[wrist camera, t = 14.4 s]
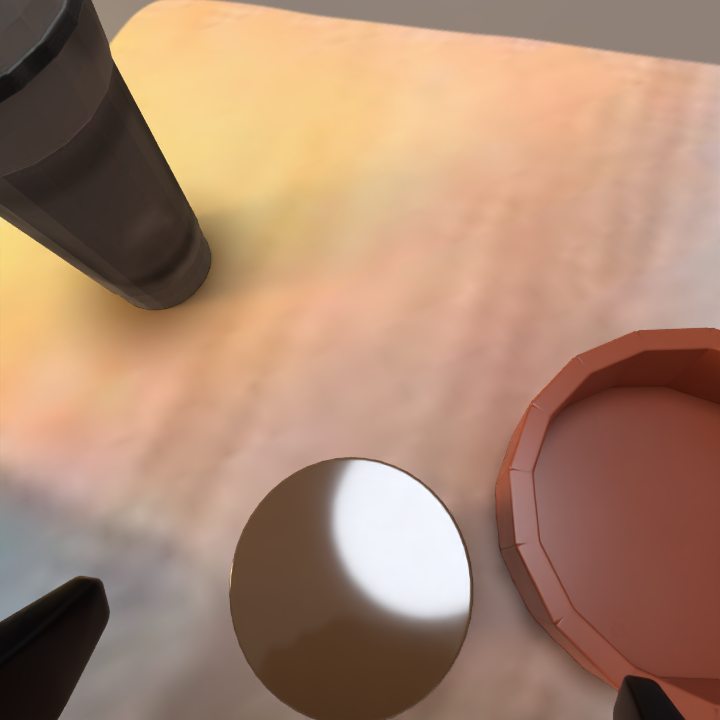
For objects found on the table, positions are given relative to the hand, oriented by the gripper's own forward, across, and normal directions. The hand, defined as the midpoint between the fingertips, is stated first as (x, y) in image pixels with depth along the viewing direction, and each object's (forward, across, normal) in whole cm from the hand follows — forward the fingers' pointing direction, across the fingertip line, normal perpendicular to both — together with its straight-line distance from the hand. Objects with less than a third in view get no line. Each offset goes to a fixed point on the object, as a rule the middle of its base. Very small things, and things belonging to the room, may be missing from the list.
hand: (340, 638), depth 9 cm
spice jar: (+7, 0, +6) cm, 10 cm away
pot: (+9, -8, +4) cm, 13 cm away
